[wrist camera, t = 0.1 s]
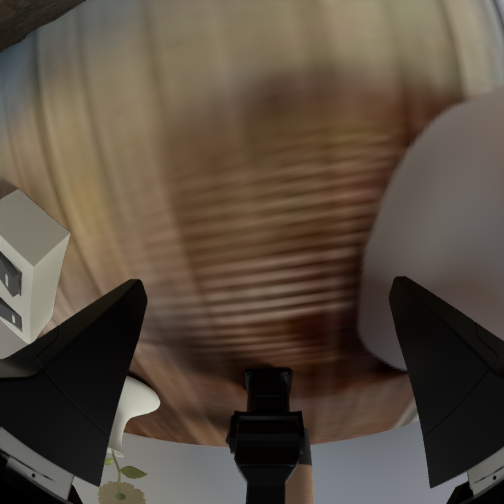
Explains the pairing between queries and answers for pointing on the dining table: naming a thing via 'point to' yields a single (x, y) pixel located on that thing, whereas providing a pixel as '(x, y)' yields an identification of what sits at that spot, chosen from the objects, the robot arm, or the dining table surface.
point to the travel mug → (301, 479)
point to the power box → (31, 261)
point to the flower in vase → (130, 404)
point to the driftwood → (28, 17)
